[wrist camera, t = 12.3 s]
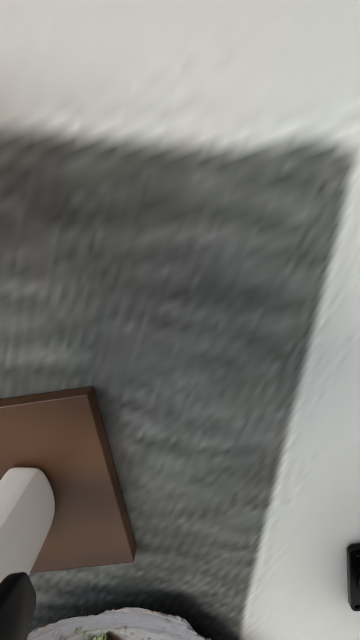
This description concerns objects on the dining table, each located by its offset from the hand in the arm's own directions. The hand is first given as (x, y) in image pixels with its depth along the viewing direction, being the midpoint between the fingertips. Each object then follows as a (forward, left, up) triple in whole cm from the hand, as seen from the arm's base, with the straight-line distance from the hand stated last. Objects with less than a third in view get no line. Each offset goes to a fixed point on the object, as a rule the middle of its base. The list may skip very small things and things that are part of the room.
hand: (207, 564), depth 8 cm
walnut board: (-8, +13, -13) cm, 20 cm away
